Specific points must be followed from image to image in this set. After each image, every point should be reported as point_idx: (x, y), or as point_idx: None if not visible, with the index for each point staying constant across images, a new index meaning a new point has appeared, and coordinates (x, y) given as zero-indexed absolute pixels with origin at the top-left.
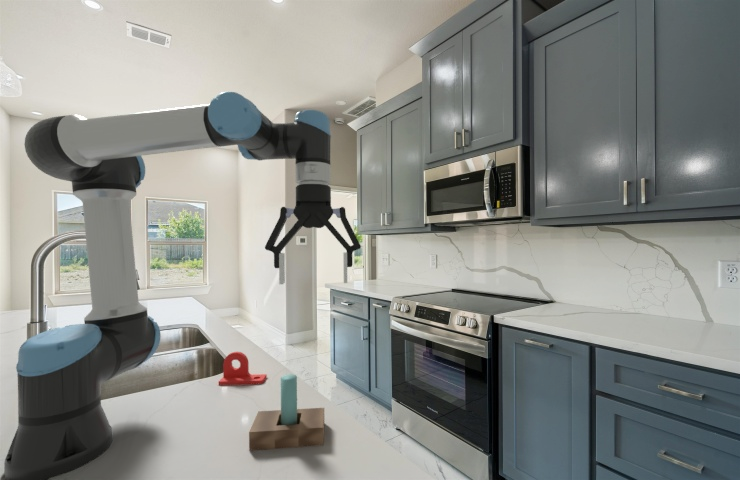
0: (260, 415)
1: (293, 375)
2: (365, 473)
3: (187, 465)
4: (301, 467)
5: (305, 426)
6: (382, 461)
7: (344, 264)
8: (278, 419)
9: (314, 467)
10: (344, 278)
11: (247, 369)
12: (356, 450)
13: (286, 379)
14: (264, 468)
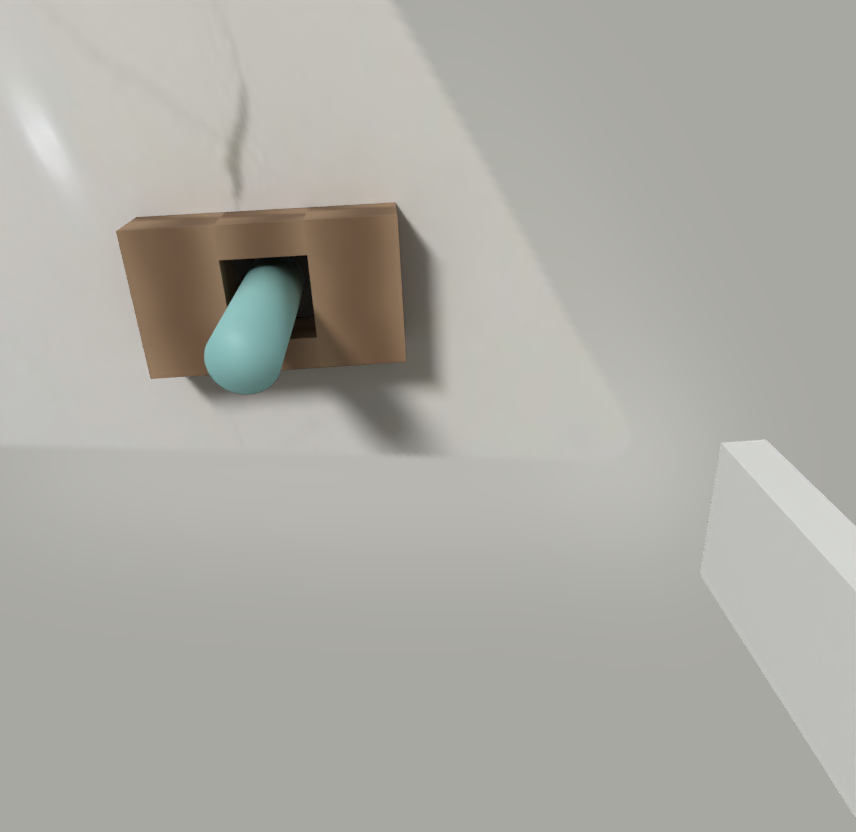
0: (141, 267)
1: (259, 336)
2: (524, 458)
3: (10, 415)
4: (352, 432)
5: (342, 352)
6: (576, 416)
7: (837, 768)
8: (225, 289)
9: (388, 433)
10: (731, 610)
11: None
12: (508, 367)
13: (238, 380)
14: (248, 433)
